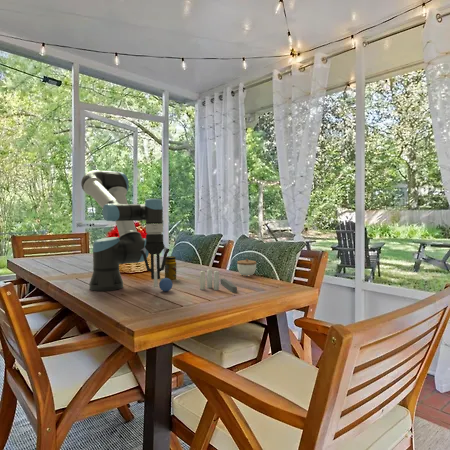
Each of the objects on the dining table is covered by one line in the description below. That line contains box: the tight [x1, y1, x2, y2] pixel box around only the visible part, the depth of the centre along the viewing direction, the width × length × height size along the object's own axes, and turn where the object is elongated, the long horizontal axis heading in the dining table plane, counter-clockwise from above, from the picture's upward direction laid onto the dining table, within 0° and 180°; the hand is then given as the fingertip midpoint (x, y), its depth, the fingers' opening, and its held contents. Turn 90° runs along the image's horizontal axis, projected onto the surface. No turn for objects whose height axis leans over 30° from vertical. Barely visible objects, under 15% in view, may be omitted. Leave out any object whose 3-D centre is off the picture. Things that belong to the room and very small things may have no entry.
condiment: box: [159, 255, 180, 282], centre depth 197 cm, size 7×8×12 cm
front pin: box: [199, 270, 206, 291], centre depth 174 cm, size 2×2×8 cm
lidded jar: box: [237, 258, 257, 277], centre depth 211 cm, size 11×11×9 cm
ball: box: [158, 277, 174, 292], centre depth 170 cm, size 6×6×6 cm
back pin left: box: [206, 269, 213, 289], centre depth 178 cm, size 2×2×8 cm
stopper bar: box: [220, 278, 238, 294], centre depth 178 cm, size 2×20×2 cm, turn 16°
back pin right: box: [213, 270, 220, 291], centre depth 174 cm, size 2×2×8 cm
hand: (155, 286), depth 167 cm, fingers closed
